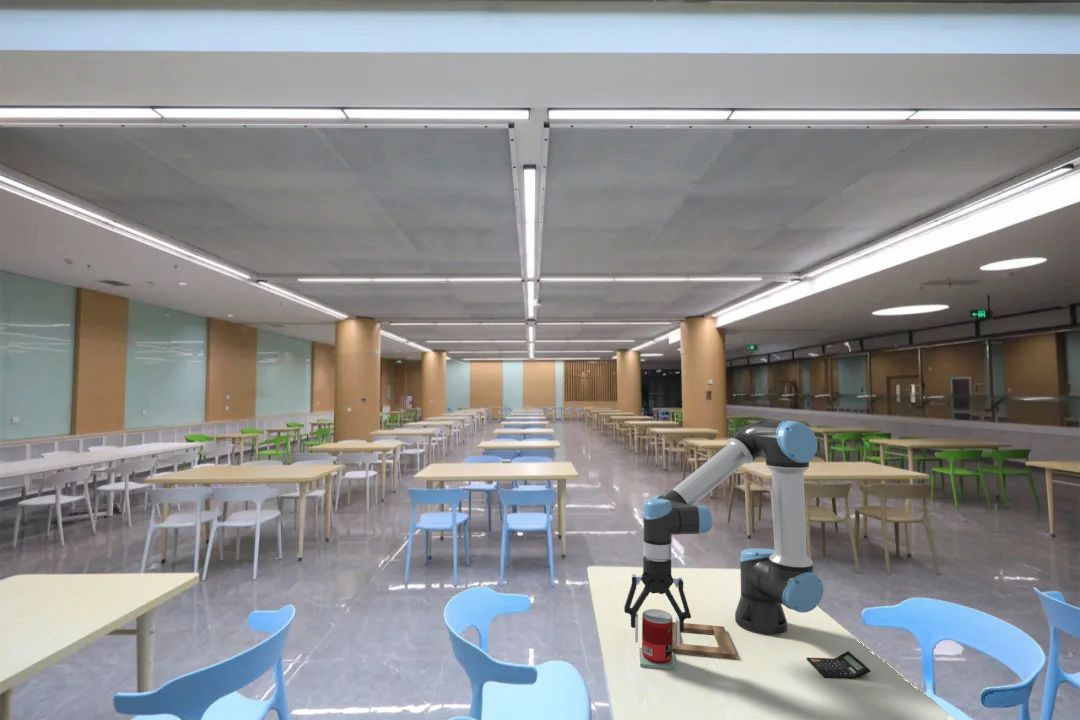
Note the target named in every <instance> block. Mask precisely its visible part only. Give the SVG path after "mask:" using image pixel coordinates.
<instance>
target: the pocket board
mask: <svg viewBox="0 0 1080 720" xmlns="http://www.w3.org/2000/svg"><path fill="white" fill-rule="evenodd" d="M682 633H694V634H705V635H714V639H715V641H716V643H717V646H712V645H711V646H708V645H698V644H689V643H687V644H686V643H680V646H677V645H676V621H674V622H673V633H672V651H673V654H679V655H687V656H688V655H690V656H698V657H699V656H701V657H708V658H709V657H711V658H719V659H720V658H721V659H729V660H737V653H736V651H735V648H734V646H733V644H732V642H731V640H730V637H729V635H728V632H727V630H726V629H725V626H721V625H710V624H699V623H690V622H689V623H688V622H684V631H683V632H682Z"/></svg>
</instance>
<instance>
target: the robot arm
mask: <svg viewBox="0 0 1080 720" xmlns="http://www.w3.org/2000/svg"><path fill="white" fill-rule="evenodd" d="M817 452H818V440H817V437H816V435H815V432H814V431H813V430H812V429H811V427H809V426H808V425H807V424H805V423H803V422H800V421H794V420H784V419H783V420H781V419H767V418H766V419H760V420H756V421H753V422H752V423H750V424H748V425H746V426H745V427H743V428H742V429H740V430H739V431H738V432H736V433H735V434H733V436H731V437H730V438H728V440H727V444H726V445H725V446H724V447H723V448H722V449H721V450H718V452H717V453H715V455H713V456H712V457H711V458H709V459H708V460H707V461H706V462H705V463H704V464H701V466H700V467H699V468H697V469H696V470H695V471H694V472H692V473H691V474H690V475H688V476H687V477H686V478H685V479H684V480H682V481H681V482H679V484H678V485H676V486H675V487H673V489H671V490H670V491H669V492H667V493H666V494H665V495H662V494H661V495H660V494H658V495H655V496H654V497H652V498H648V499H645V500H644V503H643V514H642V518H643V539H642V540H643V543H642V544H643V545H642V547H643V548H642V551H643V553H642V555H643V558H642V560H643V561H642V563H643V564H642V574H641V575H636V574H631V585H630V587H629V591H628V594H627V597H626V600H625V604H624V606H623V611H624V613H625V614H628V615H630V626H631V628H633V629H634V643H638V642H639V613H638V611H639V610H640V609H641V607H642V605H643V604H644V602H645V600H646V599H647V597H648V596H649V594H660V595H664V594H665V596H666V598H667V599H668V601H669V602H670V605H671V606H672V608H673V609H674V612H675V613H676V616H675V622H676V645H677V646H680V644H681V642H680V641H681V637H680V635H681V633H684V632H683V631H684V623H685V620H686V619H691V618H692V615H691V611H690V609H689V605H688V602H687V598H686V594H685V592H684V580H683V579H682V578H681V577H679V578H674V577H673V576H672V536H676V535H677V536H678V535H701V534H707V533H710V531H711V529H712V527H713V516H712V512H711V511H710V509H709V508H708V507H707V506H704V505H698V504H697V503H699V501H701V500H702V499H703V498H704V497H706V496H707V495H708V494H709V493H711V492H712V491H713V490H715V488H717V487H718V486H719V485H720V484H722V483H723V482H724V481H725V480H726V479H728V478H729V477H731V475H733V474H734V473H735V472H736V471H737V470H738V469H740V468H741V467H742V466H744V465H745V464H751V463H752V462H754V461H755V460H756V459H759V458H763V457H765V466H766V467H767V468H768V469H769V470H770V471H771V485H772V487H771V488H772V491H771V492H772V513H773V514H772V517H773V518H772V519H773V543H774V545H773V546H774V549H772V548H771V549H769V548H760V547H758V548H755V547H754V548H750V547H749V548H746V549H743V550H742V551H741V552H740V558H739V559H740V561H739V563H740V564H739V565H740V566H739V567H740V597H739V601H738V604H737V605H736V609H735V611H734V613H735V614H734V617H735V618H734V620H735V623H736V624H737V625H738V626H739V627H741V628H743V629H744V630H746V631H747V630H748V631H750V632H752V633H756V634H762V635H767V636H768V635H773V636H776V635H778V636H779V635H782V634H784V633H786V632H788V622H787V621H788V620H787V618H786V615H785V611H784V609H783V606H784V607H785V608H787V609H788V610H792V611H795V612H797V613H804V614H805V613H809V612H811V611H813V610H814V609H815V608H817V606H818V605H819V604H820V602H822V598H823V595H824V584H823V582H822V581H823V580H822V579H821V578H820V577H819V576H818V575H817V574H815V573H814V561H813V560H812V559H811V558H810V557H809V556H808V553H807V552H808V550H807V549H808V547H807V528H806V527H807V526H806V504H805V500H806V499H805V478H804V477H805V476H804V475H805V474H804V473H805V472H806V471H807V470H808V469H809V468H810V461H812V460H813V459H814V458H815V455H816V454H817ZM640 582H642V583H643V585H644V587H643V589H642V591H641V592H640V594H639V596H638V597H637V599H636V601H635V603H634V604H632V602H633V599H634V596H635V593H636V590H637V586H638V585H639V584H640ZM673 584H674V586H675V588H676V589H677V590H678V592H679V596H680V600H681V603H682V606H683V610H684V611H682V610H681V608H680V606H679V604H678V603H677V601H676V599H675V597H674V595H673V594H672V591H671V590H670V588H671V586H672V585H673ZM632 605H633V606H632Z"/></svg>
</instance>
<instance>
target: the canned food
mask: <svg viewBox="0 0 1080 720" xmlns="http://www.w3.org/2000/svg"><path fill="white" fill-rule="evenodd" d="M641 617H642V619H641V621H642V625H641V627H642V628H641V630H642V631H641V636H642V637H641V648H642V653H643V656H644V658H646V659H647V660H648V661H651V662H654V663H661V664H662V663H667V662H669V661H670V660H671V658H672V633H673V615H672V614H671V613H670V612H668V611H665V610H663V609H658V608H656V609H655V608H651V609H646V610H644V611H643V612H642V615H641Z"/></svg>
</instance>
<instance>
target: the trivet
mask: <svg viewBox="0 0 1080 720" xmlns="http://www.w3.org/2000/svg"><path fill="white" fill-rule="evenodd" d="M638 649H639V650H638V652H639V665H640V668H648V669H659V670H667V671H676V670H677V668H676V663H675V657H674V653H673V651H672V658H671V660H670V661H669V662H667V663H662V664H661V663H654V662H651V661H648V660H647V659H646V658H644V656H643V653H642V647H638Z"/></svg>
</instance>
